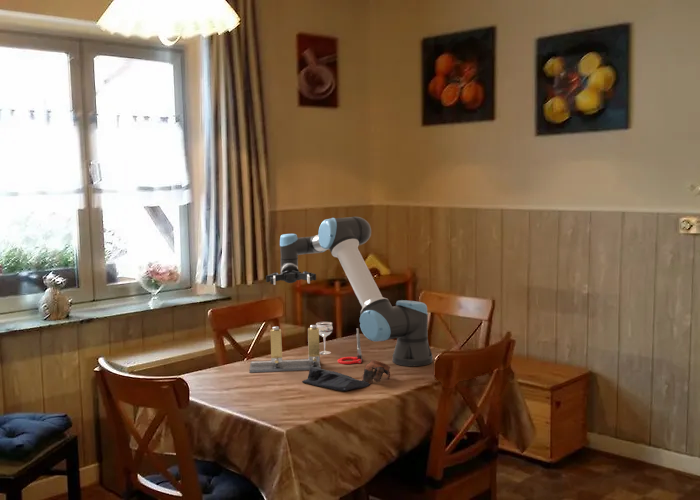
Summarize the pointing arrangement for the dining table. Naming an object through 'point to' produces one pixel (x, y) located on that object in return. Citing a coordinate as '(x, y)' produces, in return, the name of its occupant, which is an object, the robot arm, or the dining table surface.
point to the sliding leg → (276, 345)
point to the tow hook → (356, 359)
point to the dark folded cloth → (333, 380)
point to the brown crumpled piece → (378, 372)
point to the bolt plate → (297, 363)
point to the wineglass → (324, 332)
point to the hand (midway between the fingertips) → (291, 280)
